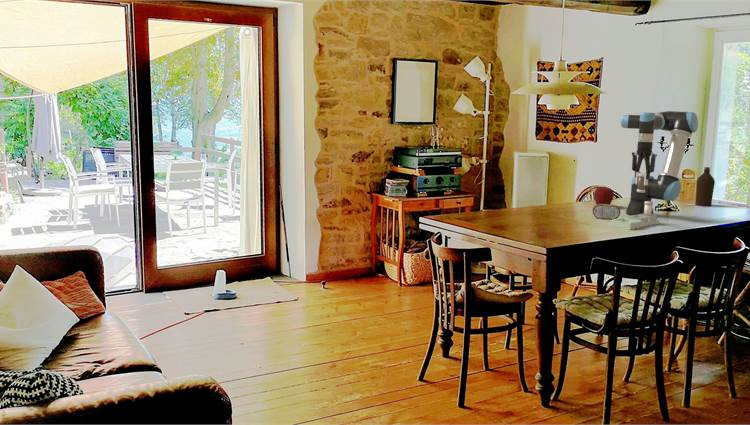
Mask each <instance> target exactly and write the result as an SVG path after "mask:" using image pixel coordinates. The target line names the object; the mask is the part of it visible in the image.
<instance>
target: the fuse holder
mask: <svg viewBox="0 0 750 425" xmlns="http://www.w3.org/2000/svg"><path fill="white" fill-rule="evenodd" d="M627 218H628V219H634V220H640V221H643V226H644V227H649V226H654V225H655V226H656V225H659V224H660V219H658V215H657V214H653V215H652V214H651V216H645V215H644V214H638V215H628V217H627ZM648 225H649V226H648Z"/></svg>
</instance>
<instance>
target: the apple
mask: <svg viewBox="0 0 750 425" xmlns="http://www.w3.org/2000/svg"><path fill="white" fill-rule="evenodd" d="M614 194H615V193H614V191H613V189H612V188H610V187H605V186H600V187H596V189H595V190H594V192H593V195H594V201H595V205H597V204H609V205H612V202H613V199H614Z"/></svg>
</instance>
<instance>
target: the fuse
mask: <svg viewBox="0 0 750 425" xmlns="http://www.w3.org/2000/svg"><path fill="white" fill-rule="evenodd" d="M653 203H654V202H653V201H652V200H651V201H645V203H644V204H645V207H644V215H645V216H651V212H652V208H653Z"/></svg>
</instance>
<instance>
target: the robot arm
mask: <svg viewBox="0 0 750 425" xmlns="http://www.w3.org/2000/svg"><path fill="white" fill-rule="evenodd" d="M620 126H621V128H624V129H630V130H631V129H633V130H634V129H635V130H636V129H637V130H638V137H637V139H638V141H637V147H636V148H637V150H636V151H633V152H631V155H632V163H631V170H632V171H633V172H634V177H632V179H631V185H630V200H629V203H628V205H627V207H626V211H625V214H626V215H628V216H632V215H638V214H644V207H645V204H644V203H645V201H652V200H653V199H654V200H659V201H660V200H662V201H667V202H669V201H671V202H672V201H673V202H674V201H675V200H677V198H678V197H679V196H680V194H681V191H682V183H681V182H680V178H679V172H680V168H681V164H682V161H683V156H684V154H685V153H684V152H685V150H686V146H687V143H688V139H689V138H692V134H693V133H694V134H695V133H696V132H697V131H698V128H699V120H698V116H697V113H695V112H692V111H674V110H673V111H672V110H671V111H670V110H668V111H661V112H660V111H659V112H649V111H646V112H645V111H644V112H641V113H640V114H623V115H622V116H621V119H620ZM658 130H660V131H667V132H669V133H670V134H671V139H670V141H669V146H668V149H667V152H666V157H665V160H664V164H663V168H662V171H661V173H660V174H658V175H657V178H654V177H655V176H653V175H651V173H654V172H655V165H656V158H657V156H658V154H656V153H654V152H653V151H652V150H653V145H654V144H653V143H654V142H653V141H654V133H655V132H654V131H658ZM643 160H644V164H645V173H644V174H645V176H644V185H645V193H640V192H637V188H638V173H641V171H640V169H641V166H642V163H643ZM651 214H652V215H654V210H653V207H652V212H651Z"/></svg>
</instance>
